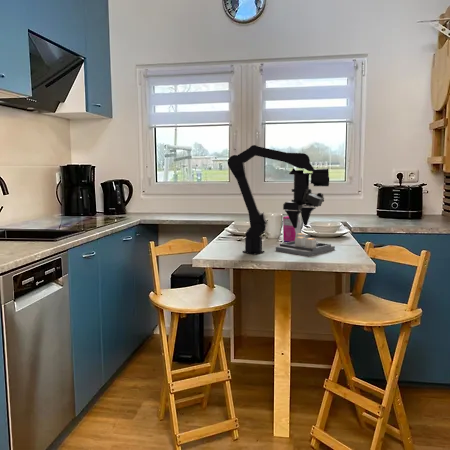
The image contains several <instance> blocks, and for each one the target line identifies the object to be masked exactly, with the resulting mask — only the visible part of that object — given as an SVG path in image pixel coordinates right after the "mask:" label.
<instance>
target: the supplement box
mask: <svg viewBox="0 0 450 450" xmlns="http://www.w3.org/2000/svg"><path fill="white" fill-rule="evenodd" d="M282 220H283V221H282V226H283V227H282V231H283V232H282V233H283V235H282V236H283V237H282V238H283V243H287V242H291V241H295V236H296V234H298V233H301V215H299V216H298V224H297V228H294V227H293V225H292V223H291V221H290V218H289V216H288V215H287V216H283V217H282Z"/></svg>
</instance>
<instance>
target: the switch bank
mask: <svg viewBox="0 0 450 450" xmlns="http://www.w3.org/2000/svg"><path fill="white" fill-rule="evenodd" d="M335 248H336V247H335V245H332V243H325V242H317V241H316V248H306V247H305V246H302V247H300V246H295V241H291V242H283V243H279V246H275V252H276V251H277V252H281V253H287V254H294V255H299V256H304V257H311V256H315V255H319V254H324V253H326V252H331V251H335V250H336V249H335Z"/></svg>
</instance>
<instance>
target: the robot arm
mask: <svg viewBox="0 0 450 450" xmlns="http://www.w3.org/2000/svg"><path fill="white" fill-rule="evenodd" d="M255 156H257V157H261V158H266V159H271V160H274V161H279V162H283V163H286V164H288V165H290V166H292V167H293V168H292V169H291V171H289V172H288V173H289V175H293V188H292V189H291V193H292V192H293V199H291V201H285V202H284V203H283V205H282V210H284V212H285V213H286V215H287V216H289V218H290V221H291V223H292V225H293V227H294V228H297V224H298V216H301V220H302V223H303V225H304V226H307V225H308V224H309V220H310V216H311V213H313V211H314V210H315V209H316V208H318V207H321V206H322V205H323V202H325V197H324V193H321V192H318V193H312V189H311V188H310V184H312V185H313V187H329V185H330V174H329V168H314V166H312V164H311V162H310V161H311V160H310V157H309V155H308V154H307V153H301V152H285V151H280V150H275V149H271V148H267V147H263V146H258V145H256V144H253V145H251V146H250V147H248V148H247V149H246V150H243V151H242V152H241V153H239V154H237V155H236V154H234V155H231V156H230V157H229V158H228V159H227V166H228V168H229V170H230V171H231V173H232V175H233V176H234V178H235V180H236V182H237V185H238V187H239V189H240V192H241V193H240V194H241V196H242V198H243V201H244V204H245V207H246V209H247V213H248V219H249V224H250V227H249V228H248V229H246V231H245V234H244V235H245V237H244V239H245V240H244V241H245V242H244V243H245V245H244V246H245V249H244V250H242V253H245V254H251V255H257V254H262V253H266V252H265V250H263V239H262V238H263V237H262V236H261V235H262V234H263V233H264V232H265V231H266V229H267V223H268V221H267V219H266V216H265V212H261V211H259V209H258V206H257V203H256V201H255V198H254V195H253V193H252V189H251V187H250V184H249V181H248V178H247V173H246V166H245V165H246V164H245V163H247V162H248V161H249V160H252V159H253V158H254V157H255ZM294 167H295V168H298V169H299V170H298V169H295V168H294ZM304 169H305V170H306V171H308V172H304ZM300 214H301V215H300Z"/></svg>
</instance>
